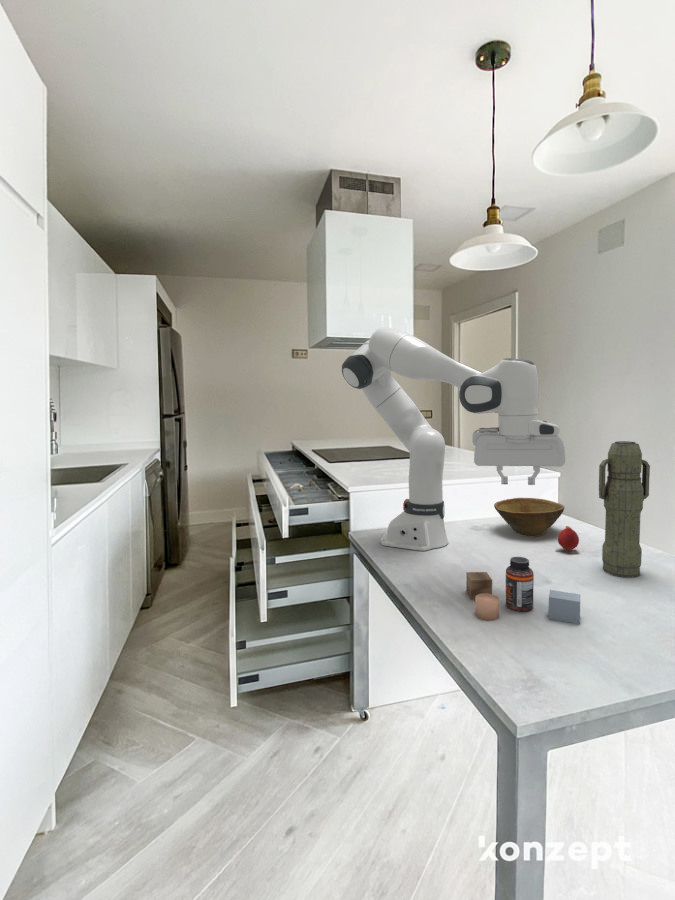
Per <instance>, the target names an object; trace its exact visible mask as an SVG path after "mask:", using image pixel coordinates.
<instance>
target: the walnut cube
mask: <svg viewBox="0 0 675 900" xmlns="http://www.w3.org/2000/svg"><path fill="white" fill-rule="evenodd" d="M465 573H466V575H465V576H466V593H467V595H468V597H469V598H470V600H471V601H472V600H473V601H475V596H476V595H478V594H482V593H488V594H493V578H491V576H490V574H489V573H488V572H487V571H471V572H470V571H469V572H467V571H466V572H465Z"/></svg>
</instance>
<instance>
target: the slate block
mask: <svg viewBox="0 0 675 900" xmlns="http://www.w3.org/2000/svg"><path fill="white" fill-rule="evenodd" d="M548 619H549V620H554V621H561V622H566V623H573V624H577V625H580V624H581V593H574V592H568V591H567V592H566V591H561V590H553V589H550V590H549V594H548Z"/></svg>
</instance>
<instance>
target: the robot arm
mask: <svg viewBox="0 0 675 900" xmlns="http://www.w3.org/2000/svg"><path fill="white" fill-rule="evenodd" d="M391 372H394V373H395V374H397V375H399V376H402V377H404V378H407V379H411V380H417V381H418V380H419V381H434V382H443V383H447V384H450V385H452V386H454V387H456V388H458V389H459V392H458V397H459V403H460V405H461V406H462V407H463V408H464V410H465V411H467V412H470V413H473V414H476V415H477V414H490V413H493V414H494V413H495V414H496V413H497V414H498V416H497V417H498V421H497V422H498V423H497V425H498V426H497V427H479V428H478V429H476V430H474V432H473V433H472V444H473V445H474V446H475V447H474V453H473V455H474V456H473V463H474V464H475V465H476V466H477V467H484V466H485V467H486V466H487V467H496V471H497V473H498V475H499V477H500V478H501V485H508V484H509V483H508V482H509V481H508V480H509V478H508V475H504V474H503V472H502V471H503V469H504V467H532V469H533V471H534V472H533V473H532V475H531V476H527V485H528V486H535V485H536V478H537V476H538V475H539V474H540V472H541V467H555V468H556V467H557V468H558V467H563V466H564V465H565V463H566V451H565V446H564V441H563V439H562V438H561V437H560V436H559V434H560V426H559V425H557V424H555V423H551V422H548V421H546V420H540V419H539V410H538V406H537V405H538V404H537V402H538V399H539V395H540V394H539V393H540V392H539V376H538V369H537V366H536V364H535V363H534V362H533V361H531V360H529V359H524V358H522V359H521V358H514V357H513V358H510V357H507V358H503V359H501V360H500V361H499V362H498V363H497V364H496V365H494V366H493V367H490V368H489V369H488V370H485V371H483V372H482V371H480V370H477V369H476V368H473V367H471V366H468V365H466V364H464V363H461V362H459V361H458V360H455V359H453V358H451V357H449V356H448V355H447V354H444V353H443V352H441V351H439V350H438V349H436V348H435V347H433V346H431V345H430V344H428V343H427V342H425V341H424V340H422V339H420V338H418V337H416V336H414V335H412V334H409V333H408V332H404V331H401V330H399V329H394V328H392V327H380V328H378V329H376V330H375V331H374V332H373V333H372V334H371V336H370V338H369V339H368V340H367V341H365V342H364V343H363V344H361V346H360V347H359V348H357V349H356V350H355V351H354V352H353V353H352V354H351V355H349V356H347V358H346V359H345V360H344V361H343V363H342V364H341V374H342V377H343V378H344V380H345V381H346V382H347V384H348V385H349V386H350V387H352V388H354V389H357V390H362V392H363V394H364V395H365V398H367V400H368V402H369V403H370V405H371V406H372V407H373V409H374V410H375V411H376V412H377V413H378V414H379V416H380V417H381V418H382V420H383V421H384V422H385V424H387V426H388V427H389V428H390V429H391V431H392V432H393V433H394V435H396V437H397V438H398V439H399V441H400V442H401V443H402V444H403V446H404V447H405V448H406V450H408V452H409V465H408V466H409V470H408V498H405V500H403V504H402V508H403V511H402V512H401V513H400V514H398V515H397V516H396V517H394V518H393V519H392V520H391V521H390V522H389V523H388V526H387V531H386V532H385V533H384V534H383V535H382V536H381V538H380V544H381V545H382V546H386V547H392V548H398V549H399V548H400V549H407V550H413V551H414V550H415V551H421V552H427V551H429V550H432V549H438V548H443V547H444V546H446V545H448V544H449V539H448V537H447V532H446V527H445V516H446V515H445V514H446V513H445V500H444V497H443V477H444V476H443V475H444V466H445V456H446V455H445V453H446V451H445V450H446V442H445V438H444V437H443V435H442V433H441V432H440V431H438V430H436V429H434V428H433V427H432V426H431V425H430V423H429V422H428V420H426V417H425V416H424V415H423V414H422V412H421V411H420V409H419V408H418V406H417V405H416V404H415V402H414V401H413V400H412V398H410V396H409V395H408V393H407V392H406V390H404V389H403V387H402V386H401V385H400V384H399V383H398V381H397V380H396V379H395V378H394V377H393V375H392V373H391Z"/></svg>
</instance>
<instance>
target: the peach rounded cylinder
mask: <svg viewBox="0 0 675 900" xmlns="http://www.w3.org/2000/svg"><path fill="white" fill-rule="evenodd" d="M474 602H475V605H474V606H475V609H474V610H475V611H474V612H475V613H474V614H475V616H476V617H477V618H478V619H480V620H483V621H495V620H498V619H499V618H500V598H499V597H498V596H497V595H495V594H493V593H492V594H488V593H482V594H478V595H476V596H475V600H474Z"/></svg>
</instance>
